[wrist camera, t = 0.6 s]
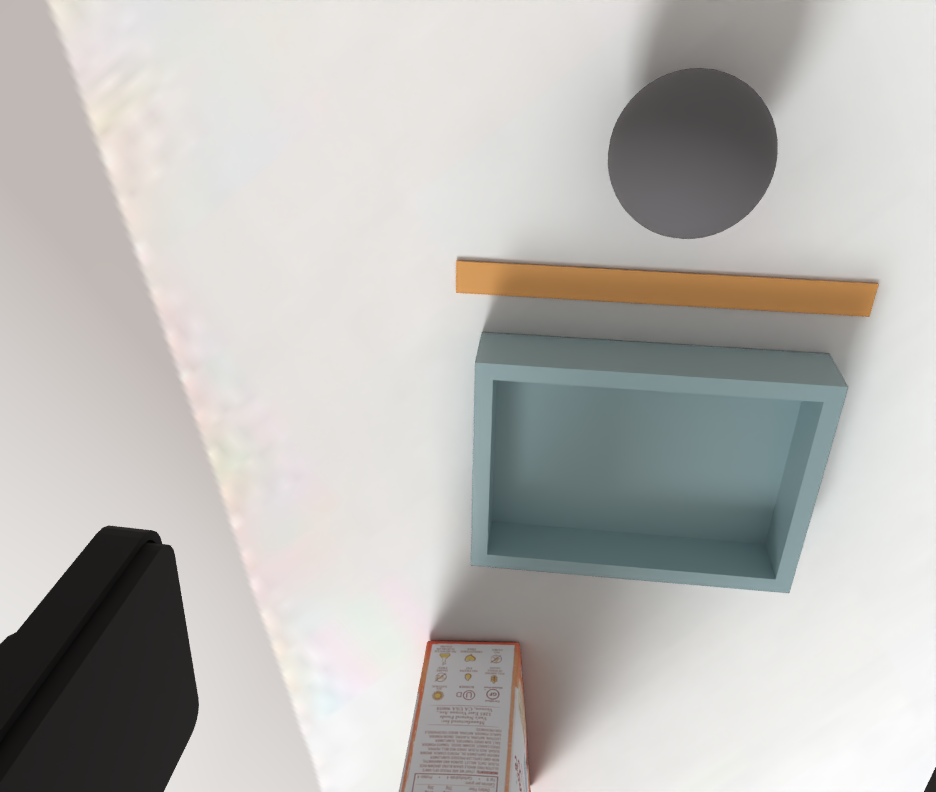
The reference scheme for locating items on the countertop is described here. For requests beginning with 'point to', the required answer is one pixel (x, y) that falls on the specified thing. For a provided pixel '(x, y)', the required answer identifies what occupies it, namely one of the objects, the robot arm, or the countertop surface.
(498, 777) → the cracker box
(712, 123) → the ball
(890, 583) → the countertop surface
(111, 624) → the robot arm
